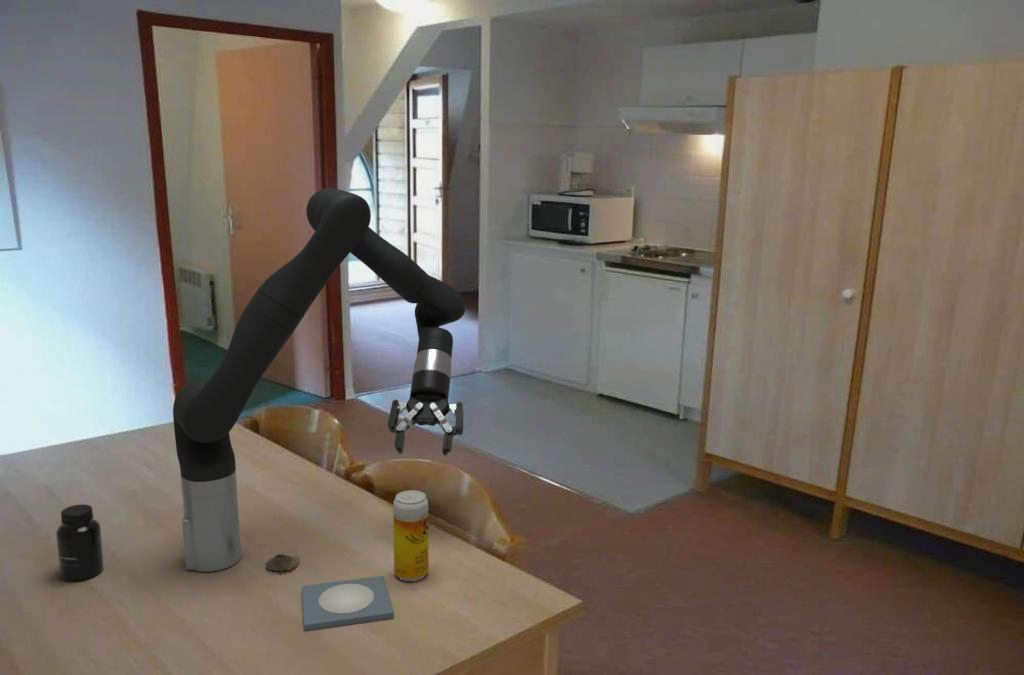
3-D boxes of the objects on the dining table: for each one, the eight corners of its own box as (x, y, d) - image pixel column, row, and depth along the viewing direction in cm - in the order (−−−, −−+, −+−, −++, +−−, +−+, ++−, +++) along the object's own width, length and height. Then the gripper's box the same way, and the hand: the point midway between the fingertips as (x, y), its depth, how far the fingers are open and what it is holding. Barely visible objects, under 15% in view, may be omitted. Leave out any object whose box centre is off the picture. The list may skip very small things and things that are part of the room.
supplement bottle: (60, 586, 136) (52, 521, 133) (61, 568, 142) (53, 505, 139) (104, 577, 139) (98, 513, 137) (104, 559, 145) (97, 498, 142)
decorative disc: (257, 572, 142) (257, 567, 142) (275, 556, 148) (275, 551, 148) (290, 577, 141) (290, 572, 141) (307, 561, 147) (307, 556, 147)
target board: (304, 630, 125) (304, 623, 125) (301, 591, 136) (301, 584, 136) (393, 618, 129) (393, 611, 128) (384, 580, 140) (384, 574, 140)
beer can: (422, 585, 139) (422, 505, 135) (389, 580, 140) (388, 501, 137) (432, 568, 145) (432, 491, 141) (400, 564, 146) (399, 487, 142)
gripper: (393, 367, 155) (381, 443, 147) (465, 369, 154) (458, 445, 146) (399, 385, 162) (388, 459, 153) (468, 387, 161) (461, 462, 152)
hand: (422, 452), depth 149 cm, fingers open, 8 cm apart
